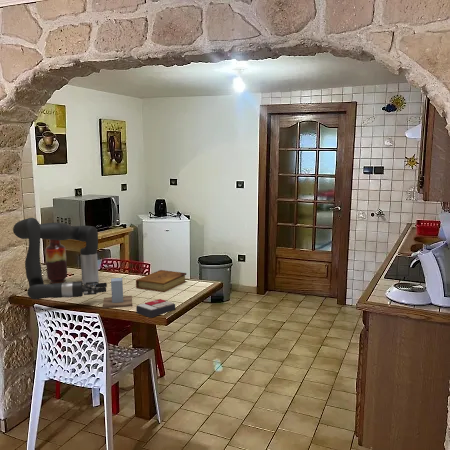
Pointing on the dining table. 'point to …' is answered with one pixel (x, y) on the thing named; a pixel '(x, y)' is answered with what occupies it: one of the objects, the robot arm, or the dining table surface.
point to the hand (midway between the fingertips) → (106, 287)
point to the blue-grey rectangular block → (117, 290)
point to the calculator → (155, 308)
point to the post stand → (108, 303)
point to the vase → (56, 262)
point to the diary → (161, 281)
